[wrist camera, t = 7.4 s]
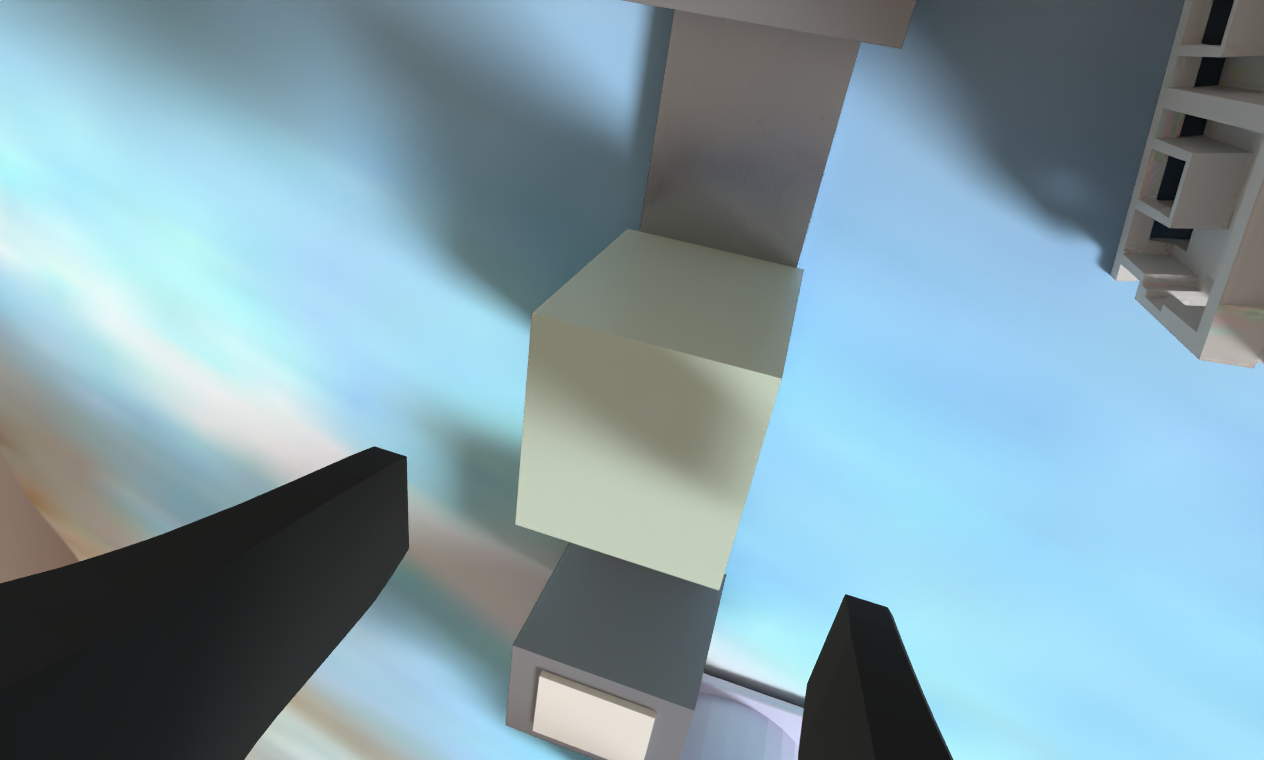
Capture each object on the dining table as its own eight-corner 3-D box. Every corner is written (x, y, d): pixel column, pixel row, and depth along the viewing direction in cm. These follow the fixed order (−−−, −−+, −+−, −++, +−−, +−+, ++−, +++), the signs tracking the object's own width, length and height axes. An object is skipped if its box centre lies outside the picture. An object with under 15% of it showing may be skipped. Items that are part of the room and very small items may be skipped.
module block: (755, 438, 19) (719, 590, 14) (600, 394, 20) (510, 523, 14) (804, 269, 16) (781, 378, 11) (623, 227, 17) (526, 311, 12)
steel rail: (689, 642, 24) (684, 660, 24) (585, 606, 25) (578, 623, 24) (935, -227, 12) (940, -242, 12) (724, -249, 13) (717, -264, 12)
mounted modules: (703, 648, 23) (668, 795, 19) (567, 601, 24) (502, 731, 19) (950, -173, 12) (1008, -291, 8) (682, -204, 13) (593, -327, 9)
